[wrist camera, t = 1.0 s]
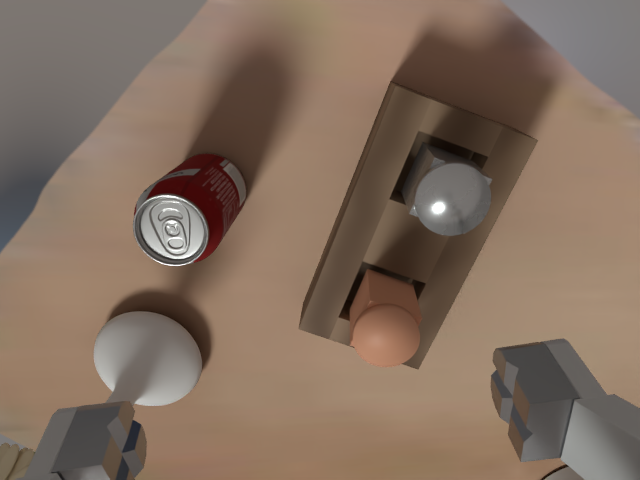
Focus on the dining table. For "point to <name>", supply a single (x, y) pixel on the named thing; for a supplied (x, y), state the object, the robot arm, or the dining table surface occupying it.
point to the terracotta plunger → (385, 320)
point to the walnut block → (403, 228)
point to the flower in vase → (132, 370)
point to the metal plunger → (446, 191)
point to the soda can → (189, 210)
